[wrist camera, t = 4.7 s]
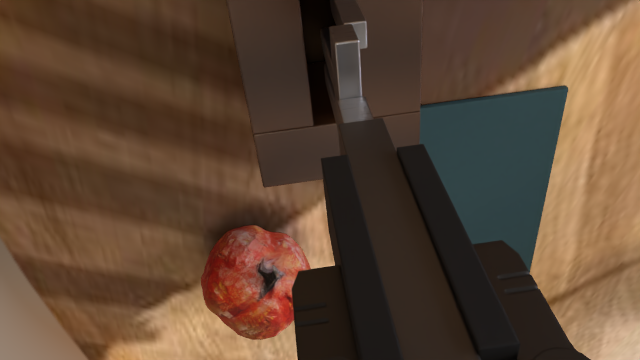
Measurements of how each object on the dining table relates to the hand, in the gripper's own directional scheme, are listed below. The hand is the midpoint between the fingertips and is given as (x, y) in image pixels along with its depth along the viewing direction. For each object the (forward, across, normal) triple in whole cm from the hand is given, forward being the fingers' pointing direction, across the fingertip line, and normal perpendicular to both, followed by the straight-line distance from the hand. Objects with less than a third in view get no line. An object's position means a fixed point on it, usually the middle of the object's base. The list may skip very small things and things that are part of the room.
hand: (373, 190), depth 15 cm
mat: (+16, +9, -16) cm, 25 cm away
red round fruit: (+17, -6, -17) cm, 25 cm away
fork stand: (+17, 0, 0) cm, 17 cm away
